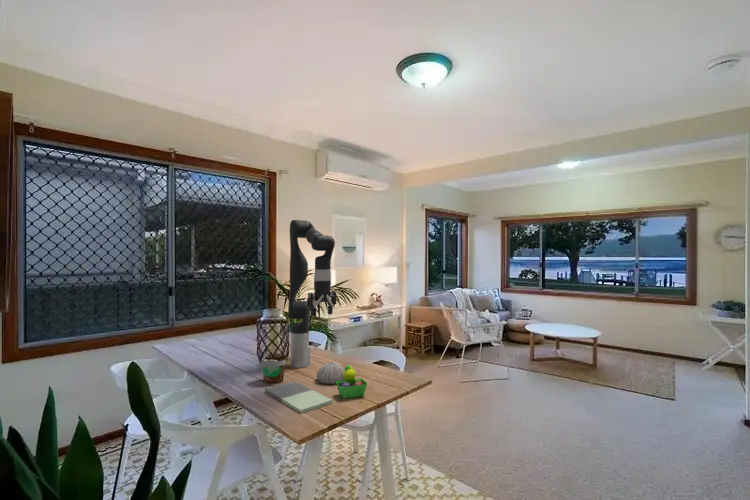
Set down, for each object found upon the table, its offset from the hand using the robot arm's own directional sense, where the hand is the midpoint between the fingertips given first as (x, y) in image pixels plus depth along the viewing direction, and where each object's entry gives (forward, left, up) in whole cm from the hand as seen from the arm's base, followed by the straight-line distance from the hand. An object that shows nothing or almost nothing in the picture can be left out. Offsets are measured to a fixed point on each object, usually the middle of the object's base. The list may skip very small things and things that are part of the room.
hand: (322, 315), depth 164 cm
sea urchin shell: (-5, +1, -30) cm, 31 cm away
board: (+17, +8, -30) cm, 35 cm away
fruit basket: (-1, +20, -30) cm, 36 cm away
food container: (+17, -15, -30) cm, 38 cm away
